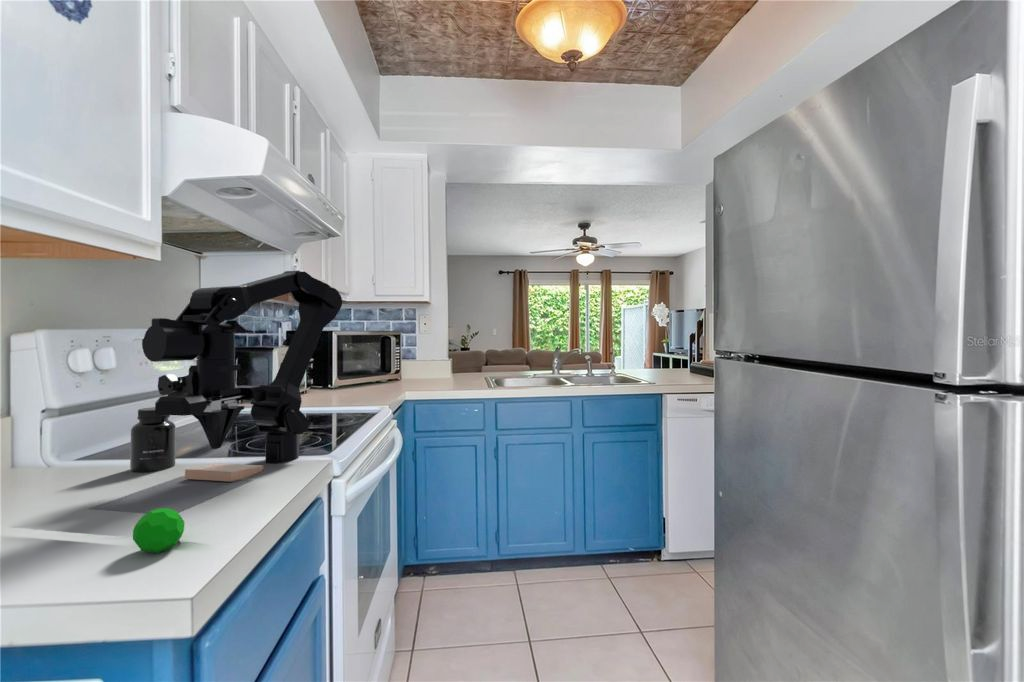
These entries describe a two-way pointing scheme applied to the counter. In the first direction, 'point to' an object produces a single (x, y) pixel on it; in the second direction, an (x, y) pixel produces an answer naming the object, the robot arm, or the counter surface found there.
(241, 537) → the counter surface
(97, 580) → the counter surface
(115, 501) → the mat
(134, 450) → the supplement bottle
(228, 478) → the tile
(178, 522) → the polyhedron
